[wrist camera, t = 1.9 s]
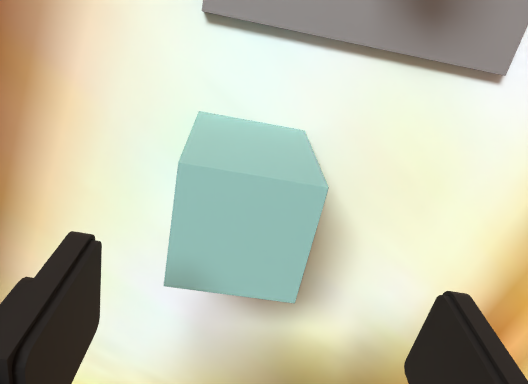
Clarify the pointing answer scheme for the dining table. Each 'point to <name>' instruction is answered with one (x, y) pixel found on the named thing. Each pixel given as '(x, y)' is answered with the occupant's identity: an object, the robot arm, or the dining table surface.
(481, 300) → the dining table surface
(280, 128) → the teal rectangular block
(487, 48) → the grey plate with knob
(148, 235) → the dining table surface
